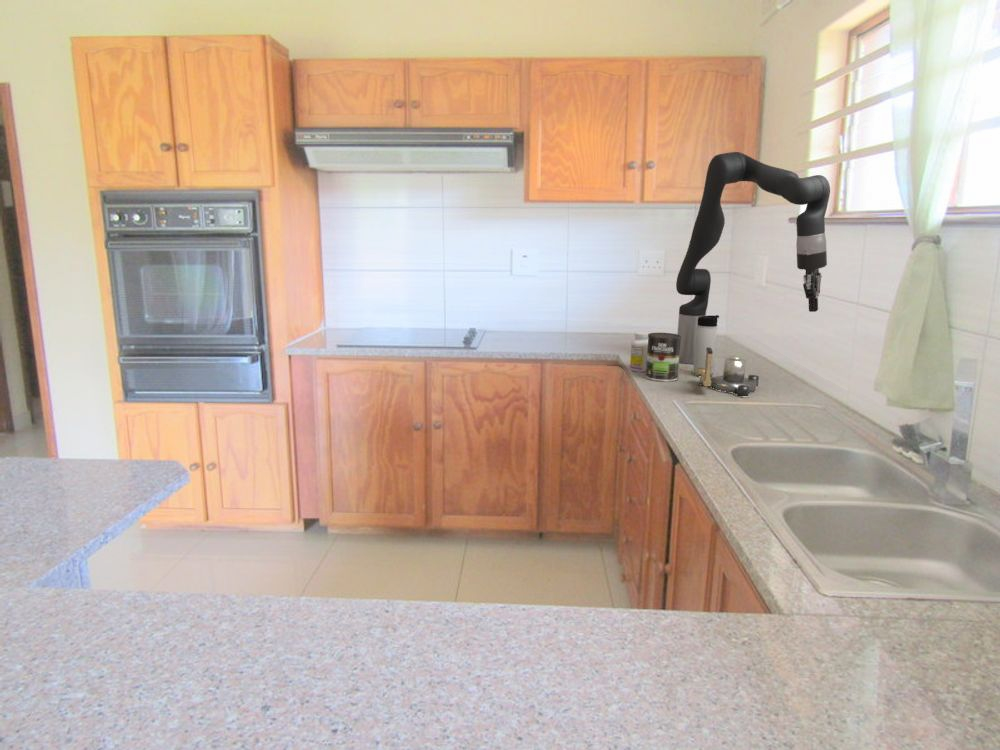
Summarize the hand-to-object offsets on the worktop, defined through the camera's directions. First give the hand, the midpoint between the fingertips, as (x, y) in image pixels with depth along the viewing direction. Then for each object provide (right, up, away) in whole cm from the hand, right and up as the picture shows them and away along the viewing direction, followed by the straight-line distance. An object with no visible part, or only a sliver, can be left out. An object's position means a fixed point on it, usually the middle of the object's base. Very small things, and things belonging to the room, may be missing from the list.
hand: (813, 311), depth 189 cm
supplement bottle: (-42, -17, +35) cm, 58 cm away
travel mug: (-22, -19, +30) cm, 42 cm away
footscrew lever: (-28, -20, +11) cm, 36 cm away
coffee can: (-37, -19, +25) cm, 49 cm away
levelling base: (-20, -22, +14) cm, 33 cm away
